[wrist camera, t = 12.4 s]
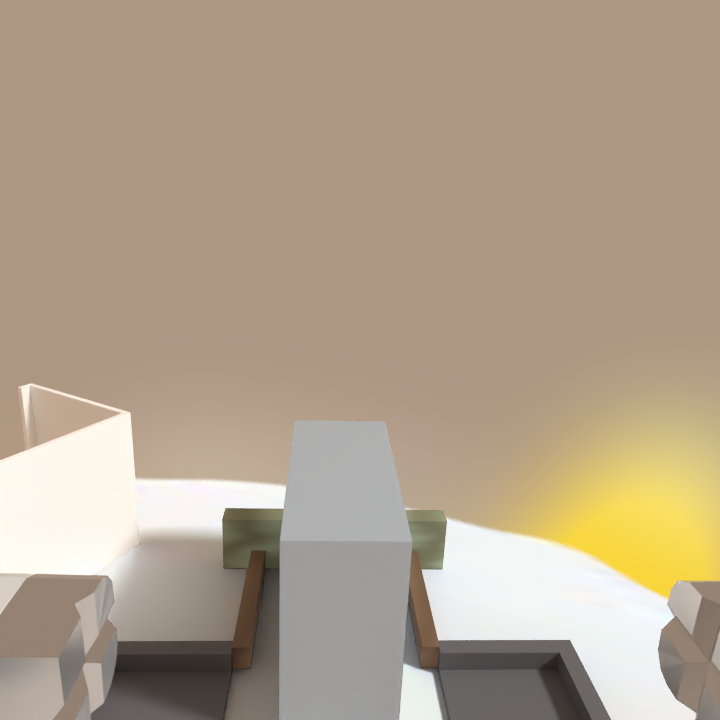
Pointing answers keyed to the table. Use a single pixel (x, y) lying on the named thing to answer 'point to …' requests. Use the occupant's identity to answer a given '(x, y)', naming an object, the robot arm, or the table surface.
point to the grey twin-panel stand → (68, 487)
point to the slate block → (342, 575)
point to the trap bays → (455, 666)
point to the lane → (262, 550)
